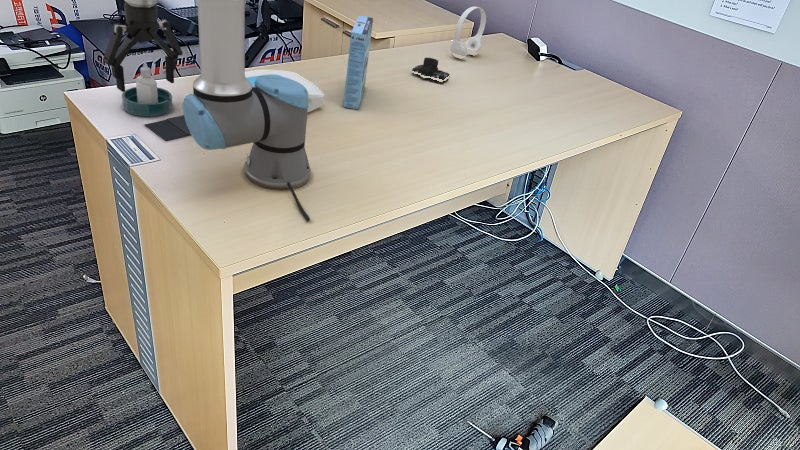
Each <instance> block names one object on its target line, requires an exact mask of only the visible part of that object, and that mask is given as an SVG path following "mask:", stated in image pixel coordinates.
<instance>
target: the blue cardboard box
mask: <svg viewBox="0 0 800 450" xmlns="http://www.w3.org/2000/svg"><path fill="white" fill-rule="evenodd" d="M373 23H374V18H373V17H369V16H365V15H358V16H357V19H356V20H355V22H354V25H353V27H352V29H351V31H350V40H349V41H350V42H349V50H348V59H347V68H346V77H345V78H346V79H345V86H344V94H343V102H342V108H348V109H353V110H358V109H359V107H360V105H361V100H362V97H363V94H364V92H365V91H364V90H365V88H366V87H365V86H366V82H367V81H366V80H367V72H368V64H369V57H370V56H369V55H370V48H371V47H370V46H371V39H372V31H373Z"/></svg>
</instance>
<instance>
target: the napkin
mask: <svg viewBox="0 0 800 450" xmlns="http://www.w3.org/2000/svg"><path fill="white" fill-rule="evenodd" d="M144 126H145V127H146V128H147V129H149V130H150V131H151V132H152V133H154V134H156V135H157V136H158V137H160V138H161V139H162V140H164V141H165V142H168V141H169V142H170V141H172V140H175V139H180V138H185V137H189V136H192V135H191V133H190V131H189V129H188V126H187V124H186V121H185V117H184V114H182V115H178V116H173V117H168V118H166V119H163V120H158V121H154V122H150V123H145V124H144Z"/></svg>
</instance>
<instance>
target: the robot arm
mask: <svg viewBox="0 0 800 450" xmlns="http://www.w3.org/2000/svg"><path fill="white" fill-rule="evenodd" d="M123 1H124V3H123V9H124V18H125V24H123V25H122V24H118V23H113V24H112V34H111V36H110V39H109V42H108V44H107V47H106V50H105V52H104V55H103V57H102V61H103V63H104V64H106V65H107V66H109V67H110V66H111V75H112V77H113V78H114V79H115V81H116V88H117V89H118V90H119V91H120V92H121V93H123V92H125V90H126V84H125V74H124V73H125V71H124V66H123V65H122V63H123V61H125V59H126V58H127V56H128V54H129V52H131V50H132V48H133V47H134V46H136V45H137V43H139V44H140V43H144V42H152V40H153V41H154V42H155V43H156V44H157V45H158V47H160V48H161V50H162V51H163V52H164V53H165V54H166V56H164V64H165V80H166V81H167V82H169V83H171V84H174V83H175V71H174V70H176V69H177V60H178V59H179V57H180V56H183V54H184V53H183V50H182V48H181V47H180V44H179V43H178V41H177V39H176V37H175V34H174V33H173V32H172V28H171V23H170V22H169V21H167V20H166V19H164V18H162V19H160V21H158V19H159V12H158V11H159V9H158V5H157V4H158V0H123ZM245 1H246V0H197V20H198V21H197V23H198V24H197V25H198V45H199V68H200V71H199V73H200V75H199V76H198V77H196V78H195V80H193V82H192V91H193V92H192V93H189V94H188V95H185V96H184V98H183V100H182V112H183V115H184V117H185V121H186V124H187V126H188V129H189V131H190V133H191V135H190V136H191V137H192V138H193V140H194V141H195V143H196V144H197V145H198V146H199V147H200V148H202V149H204V150H207V151H213V150H219V149H221V150H226V149H228V148H232V147H239V146H243V145H249V144H252V145H251V148H250V152H249V154H247V155H246V158H245V162H244V176H245V177H246V179H247V180H248V181H249V182H250V183H251V184H254V185H255V186H257V187H260V188H264V189H266V190H267V189H268V190H273V191H288V190H289V191H290V193H291V195H292V196H293V198H294V201H295V203H296V205H297V207H298V209H299V211H300V213H301V214H302V215H303V217H304V218H305V219H306V221H307V222H310V221H311V218H310V216H309V215H308V214H307V212H306V211H305V210H304V207H303V206H302V204H301V202H300V200H299V198H298V196H297V194H296V192H295V190H294V189H298V188H300V187H303V186H305V185H306V184H307V183H308V182H309V180H310V179H311V178H310V177H311V166H310V163H309V159H308V155H307V151H306V145H305V144H306V135H307V121H308V113H307V111H308V108H309V105H308V91H307V89H306V88H305V87H304V86H303V85H302V84H300V83H298V82H297V81H294V80H292V79H289V78H285V77H281V76H275V75H262V76H259V77H258V78H256V81H255V83H254V84H255V87H252V84H251V83H250V82H249V81H248V80H247V79H246V78H245V71H246V67H245V66H246V64H245V63H246V59H245V57H246V55H245V54H246V53H245V51H246V49H245V47H246V45H245V44H246V43H245V41H246V40H245V39H246V37H245V36H246V35H245V33H246V31H245V27H246V25H245V24H246V23H245V21H246V19H245V18H246V17H245V15H246V13H245V11H246V10H245V9H246V8H245V7H246V5H245V3H246V2H245ZM159 30H162V32H163V34H164V36H165V38H166V40H167V41H168V44H169V45H170V46H169V45H167V43H166V42H165V41H164V40H163V39H162V38H161V36H159V34H158V32H159ZM125 32H126V34H125ZM124 35H125V36H124ZM123 37H124V38H123ZM123 39H124V40H123ZM121 42H122V43H121ZM170 47H171V48H170Z"/></svg>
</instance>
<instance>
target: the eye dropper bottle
mask: <svg viewBox="0 0 800 450" xmlns="http://www.w3.org/2000/svg"><path fill="white" fill-rule="evenodd" d="M139 70H140V75H138V76H137V77H136V79H135V87H136V88H137V100H138V103H141V104H156V103H158V94H157V87H158V82H157V81H156V80H155V78H153V77H152V73H151V71H152V70H151V68H150V67H148V63H147V62H143V65H142V66H141V67H140V69H139Z"/></svg>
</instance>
